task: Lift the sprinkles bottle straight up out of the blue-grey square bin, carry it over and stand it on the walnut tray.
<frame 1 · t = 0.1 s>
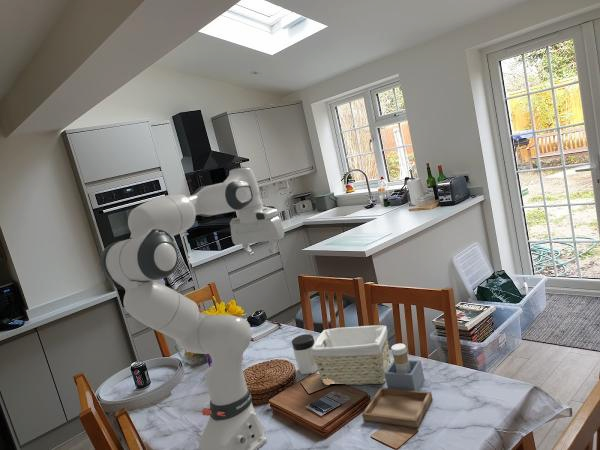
hand: (262, 254, 158), 48 cm above the table, tool pointing down, fingers open, 8 cm apart
tray: (398, 410, 134), on the table
blue-grey square bin: (406, 385, 146), on the table
sprinkles bottle: (406, 386, 146), resting in blue-grey square bin
jar: (309, 369, 173), on the table
storage basket: (358, 376, 160), on the table
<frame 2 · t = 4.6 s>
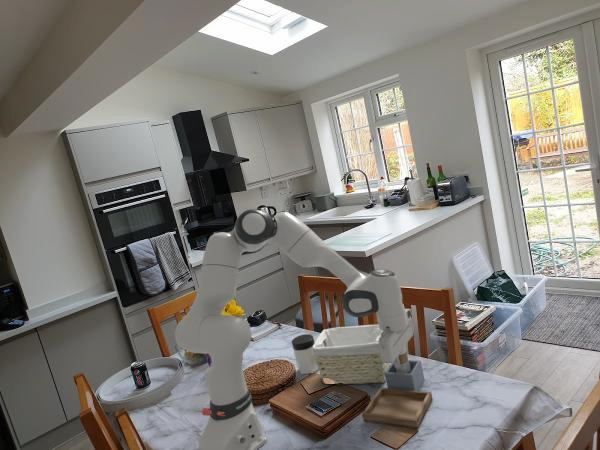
hand: (401, 362, 145), 8 cm above the table, tool pointing down, fingers closed on sprinkles bottle, 4 cm apart
sprinkles bottle: (406, 386, 146), resting in blue-grey square bin, touching gripper
everything else where it was.
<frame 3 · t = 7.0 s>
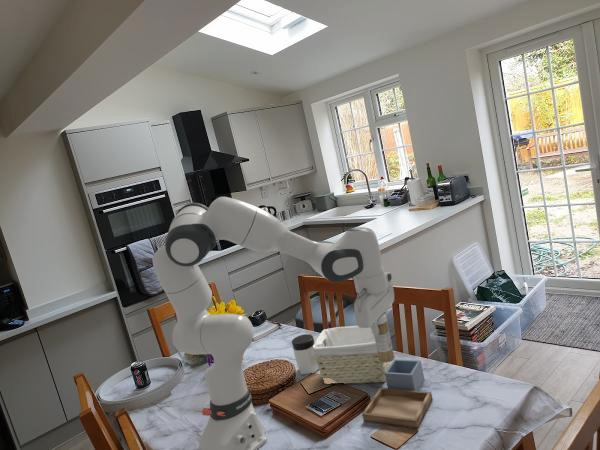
hand: (380, 329, 132), 25 cm above the table, tool pointing down, fingers closed on sprinkles bottle, 4 cm apart
sprinkles bottle: (387, 360, 133), point 15 cm above the table, touching gripper
everything else where it was.
when the fingers open (10 cm above the table, at t = 9.9 s): sprinkles bottle stays where it is, resting on tray.
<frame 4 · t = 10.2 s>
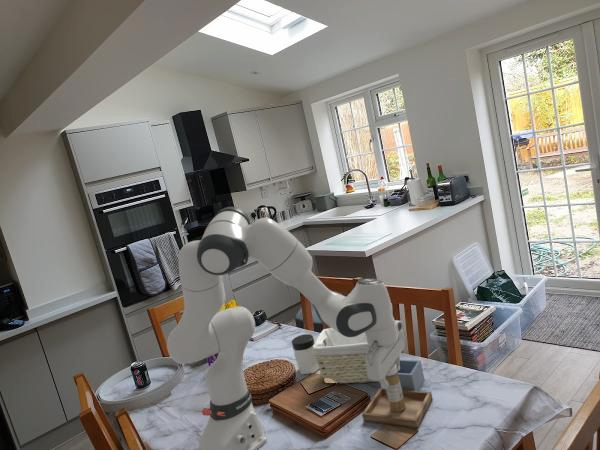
hand: (391, 378, 133), 10 cm above the table, tool pointing down, fingers open, 8 cm apart
sprinkles bottle: (398, 408, 135), resting on tray
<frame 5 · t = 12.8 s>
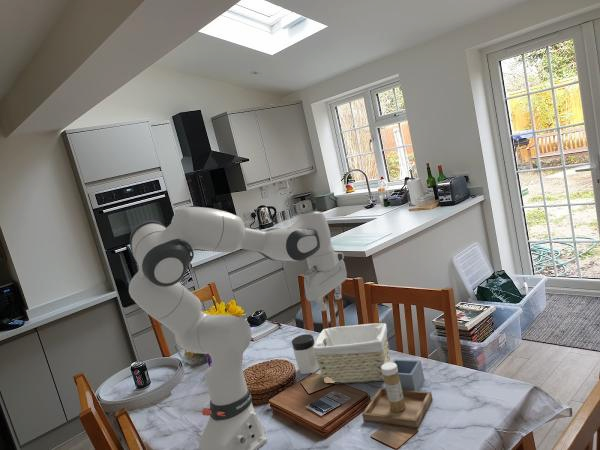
hand: (331, 304, 145), 31 cm above the table, tool pointing down, fingers open, 8 cm apart
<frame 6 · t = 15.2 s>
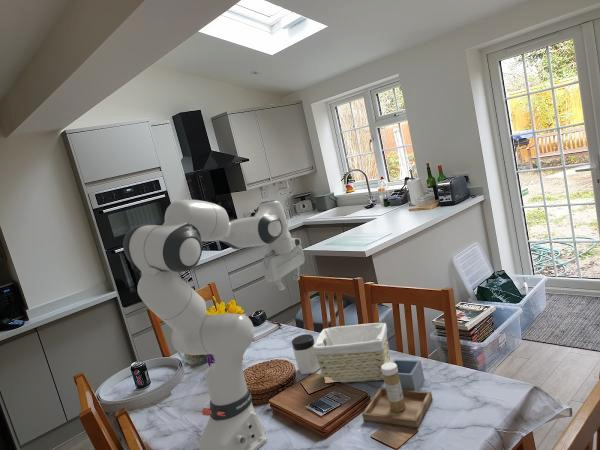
hand: (289, 285, 160), 35 cm above the table, tool pointing down, fingers open, 8 cm apart
at the end: sprinkles bottle inside the target area on the tray (0.1 cm from its centre), point 0.4 cm above the tray's base; sprinkles bottle tilted 0°; the gripper is holding nothing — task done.
